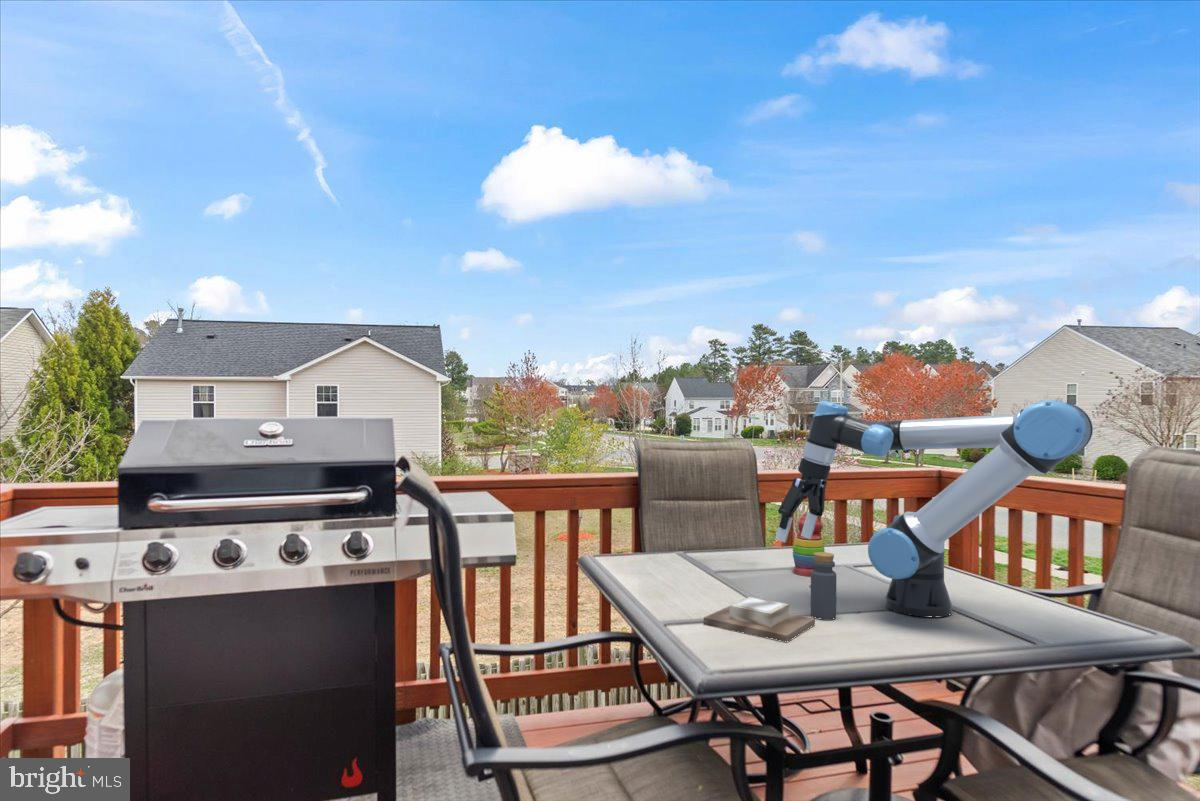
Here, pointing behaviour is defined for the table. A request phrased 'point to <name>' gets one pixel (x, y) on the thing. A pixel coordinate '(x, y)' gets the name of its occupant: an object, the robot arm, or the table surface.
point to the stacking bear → (806, 548)
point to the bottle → (823, 586)
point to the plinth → (761, 630)
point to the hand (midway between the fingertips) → (793, 539)
